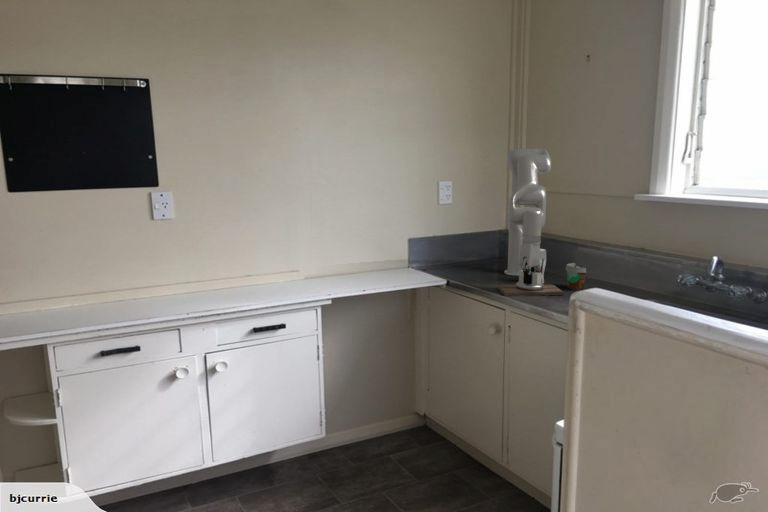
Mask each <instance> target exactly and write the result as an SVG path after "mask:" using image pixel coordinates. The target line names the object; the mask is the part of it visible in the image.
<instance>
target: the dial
mask: <svg viewBox="0 0 768 512" xmlns="http://www.w3.org/2000/svg"><path fill="white" fill-rule="evenodd" d="M530 275H531V284H524V283H523V278H524V274H523V270H521V271H519V276H518V281H517V282H516V287H517V288H519V289H523V290H542V289H543V285H544V284H545V283H541V278H542V273H538V272H532V271H531V274H530Z"/></svg>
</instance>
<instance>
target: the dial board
mask: <svg viewBox="0 0 768 512" xmlns="http://www.w3.org/2000/svg"><path fill="white" fill-rule="evenodd" d="M543 284H544V285H543V289H542V290H523V289H519V288H517V287H516V284H508V283H507V284H503V283H502V284H497V287H496V288H497V289H498V290H499V291H500V292H501V294H503V296H505V297H509V296H510V297H513V296H514V297H515V296H516V297H517V296H518V295H565V294H564V292H565V291H563V290H561V289H560V288H559V287H557V286H556V285H555V284H548V283H547V284H545V283H543ZM518 297H519V296H518Z"/></svg>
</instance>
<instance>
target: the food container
mask: <svg viewBox="0 0 768 512" xmlns="http://www.w3.org/2000/svg"><path fill="white" fill-rule="evenodd" d="M565 271H566V286H567V289H568V288H569V289H568V290H571V289H574V290H573V291H578V290H577V289H579V290H583V289H585V282H586V274H587V268H586V267H581V266H578V265H576V262H571V263H567V264H566V266H565Z"/></svg>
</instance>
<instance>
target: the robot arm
mask: <svg viewBox="0 0 768 512" xmlns="http://www.w3.org/2000/svg"><path fill="white" fill-rule="evenodd" d="M507 154H508V155H507V162H508V166H509V169H510V171H511V175H512V176H511V177H512V178H511V179H512V180H511V195H510V197H509V199H508V213H507V224H508V249H507V250H508V251H507V252H508V253H507V269H505V270H504V271H503V273H504V274H505V275H508V276H516V277H519V271H521V270H523V274H524V278H523V283H524V284H531V275H530V274H531V271H532V272H537V267H538V265H539V263H540V249H541V241H542V238H541V237H542V228H544V226H545V224H546V217H547V213H546V212H547V190H546V187H545V186H543V185H540V184H539V179H538V178H539V177H538V175H539V174H540V175H545V174H549V173H550V172H551V170H552V158H551V156H550V154H549V151H548V150H547V149H544V148H515V149H514V148H513V149H511V150H509V152H508V153H507ZM523 206H524V207H523ZM527 206H528V207H527ZM529 206H531V207H529ZM532 206H533V207H532ZM534 206H535V207H534Z"/></svg>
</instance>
